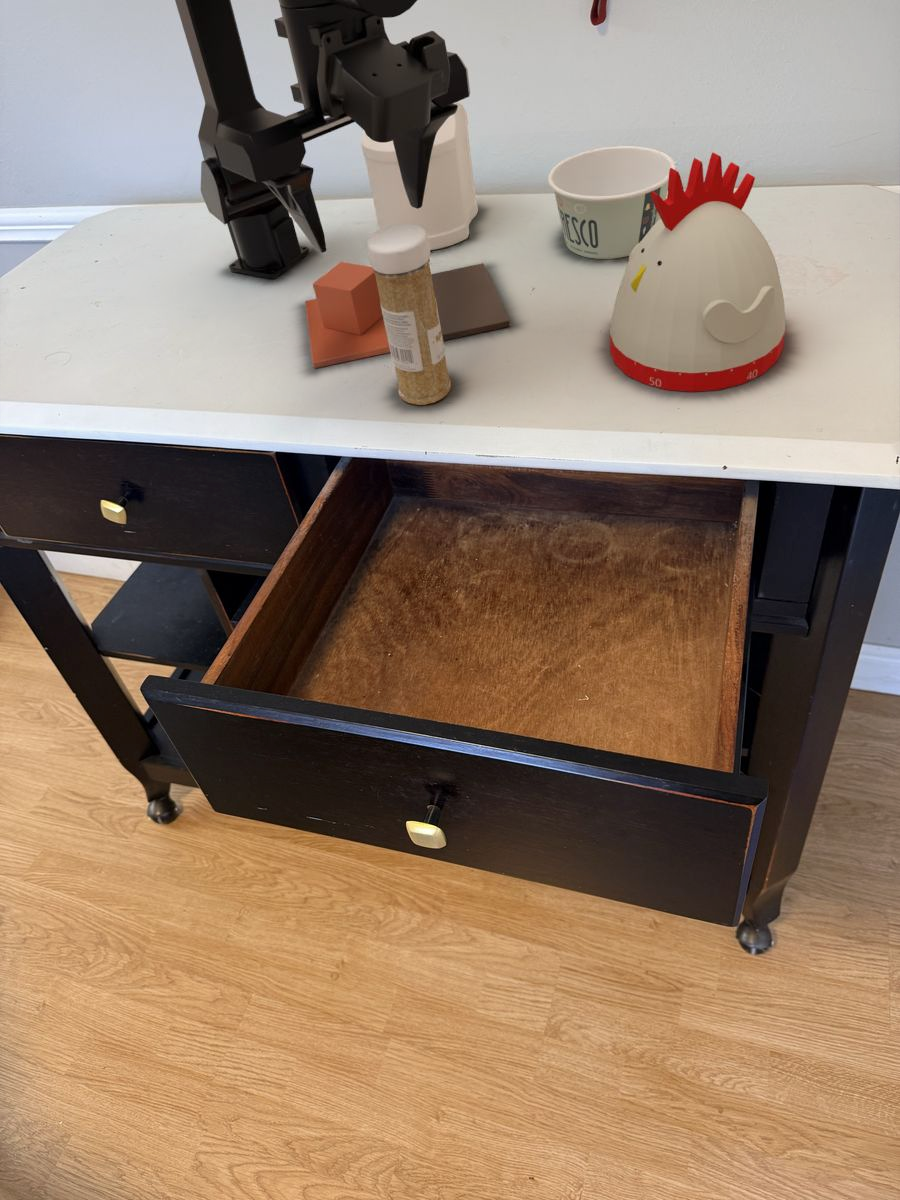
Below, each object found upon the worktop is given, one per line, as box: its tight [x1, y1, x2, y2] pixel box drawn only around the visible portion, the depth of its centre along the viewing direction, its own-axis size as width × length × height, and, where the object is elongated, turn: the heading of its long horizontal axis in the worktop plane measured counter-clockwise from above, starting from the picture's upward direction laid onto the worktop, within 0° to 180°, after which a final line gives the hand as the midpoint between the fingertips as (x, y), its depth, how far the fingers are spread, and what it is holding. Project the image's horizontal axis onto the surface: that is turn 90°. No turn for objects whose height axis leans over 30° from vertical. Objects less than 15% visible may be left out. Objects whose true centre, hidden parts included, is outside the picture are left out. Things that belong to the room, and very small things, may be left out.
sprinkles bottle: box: [366, 224, 452, 406], centre depth 71 cm, size 5×5×14 cm
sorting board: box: [304, 262, 511, 369], centre depth 85 cm, size 18×12×1 cm, turn 100°
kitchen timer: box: [609, 152, 786, 393], centre depth 70 cm, size 14×14×15 cm
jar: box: [361, 101, 479, 251], centre depth 93 cm, size 12×10×15 cm
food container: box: [547, 145, 677, 260], centre depth 88 cm, size 12×12×6 cm
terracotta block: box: [312, 261, 383, 335], centre depth 83 cm, size 4×4×4 cm
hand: (370, 228), depth 71 cm, fingers open, 9 cm apart
